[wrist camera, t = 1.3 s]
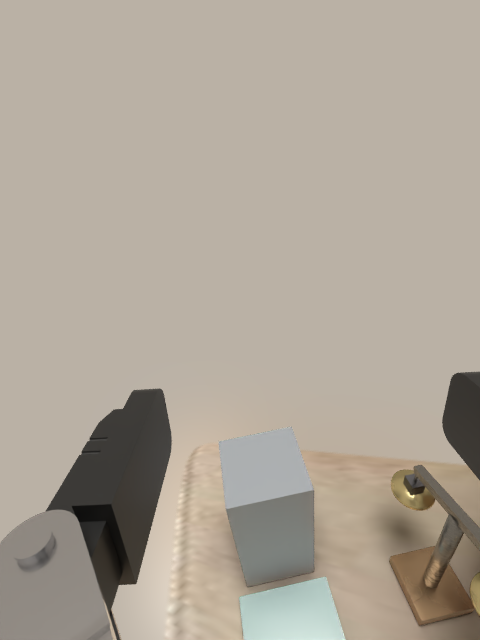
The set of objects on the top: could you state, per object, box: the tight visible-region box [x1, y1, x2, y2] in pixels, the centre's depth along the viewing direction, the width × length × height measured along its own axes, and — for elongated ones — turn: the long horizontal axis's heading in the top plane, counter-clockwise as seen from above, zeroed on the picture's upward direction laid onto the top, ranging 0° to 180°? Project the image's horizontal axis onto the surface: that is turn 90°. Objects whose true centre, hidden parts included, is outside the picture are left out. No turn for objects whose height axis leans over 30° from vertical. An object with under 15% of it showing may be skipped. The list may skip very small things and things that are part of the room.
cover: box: [219, 427, 314, 587], centre depth 25 cm, size 6×5×12 cm
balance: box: [389, 465, 480, 626], centre depth 22 cm, size 4×11×12 cm, turn 8°
